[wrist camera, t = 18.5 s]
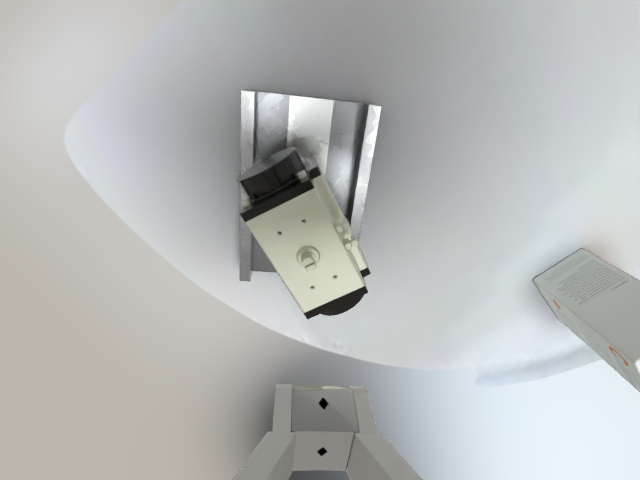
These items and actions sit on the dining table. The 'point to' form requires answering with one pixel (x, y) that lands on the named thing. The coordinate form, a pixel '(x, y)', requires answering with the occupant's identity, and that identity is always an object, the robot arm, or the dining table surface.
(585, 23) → the dining table surface
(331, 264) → the pneumatic valve
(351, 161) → the rail plate
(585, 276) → the small box
